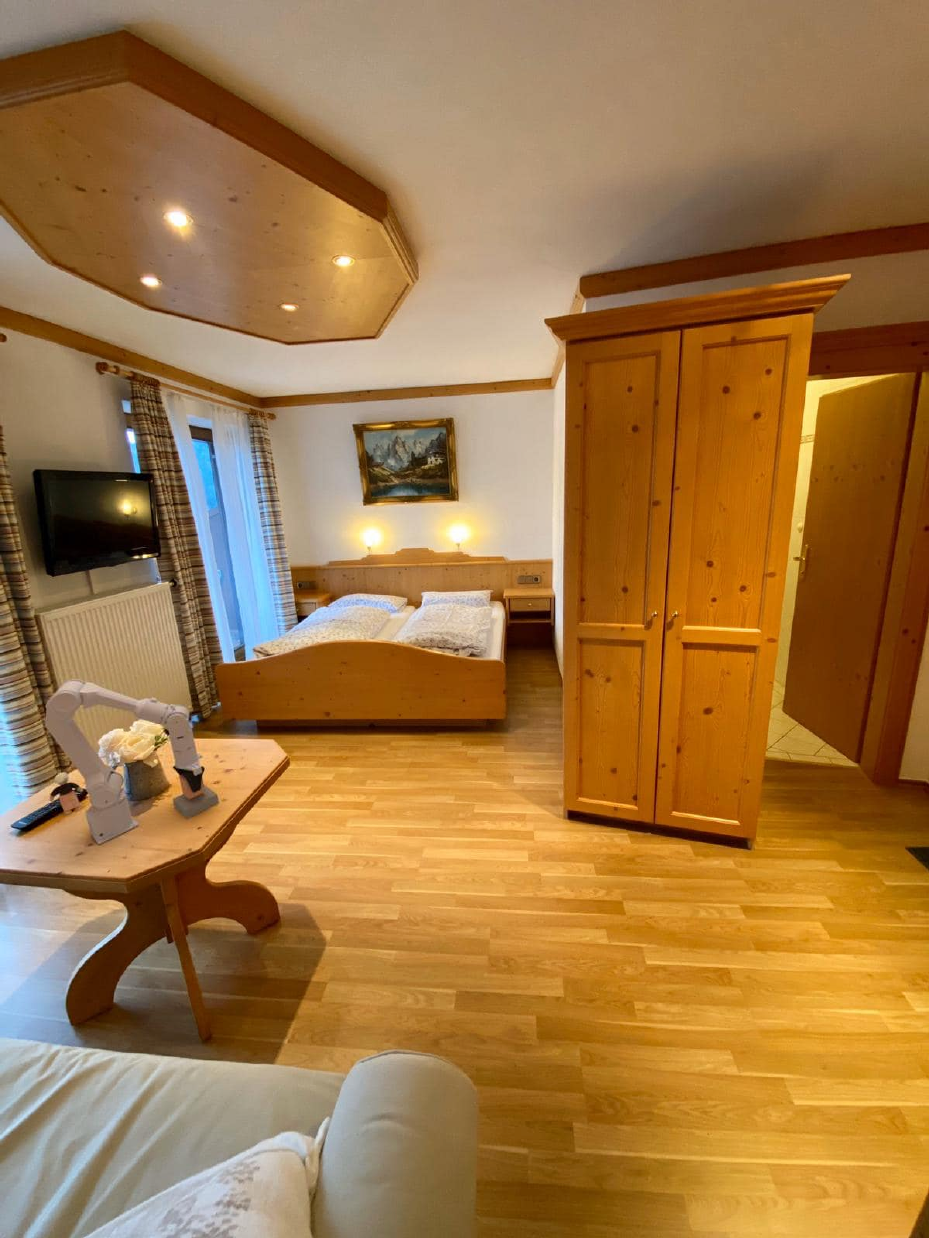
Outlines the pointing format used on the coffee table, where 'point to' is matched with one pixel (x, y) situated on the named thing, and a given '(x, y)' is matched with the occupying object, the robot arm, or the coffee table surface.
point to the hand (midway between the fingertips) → (193, 787)
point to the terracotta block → (187, 789)
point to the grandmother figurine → (66, 793)
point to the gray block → (195, 803)
